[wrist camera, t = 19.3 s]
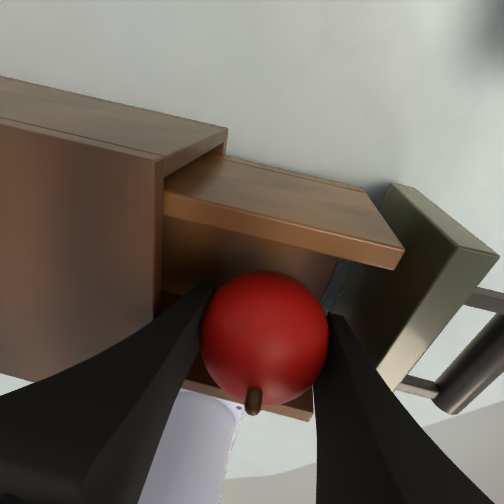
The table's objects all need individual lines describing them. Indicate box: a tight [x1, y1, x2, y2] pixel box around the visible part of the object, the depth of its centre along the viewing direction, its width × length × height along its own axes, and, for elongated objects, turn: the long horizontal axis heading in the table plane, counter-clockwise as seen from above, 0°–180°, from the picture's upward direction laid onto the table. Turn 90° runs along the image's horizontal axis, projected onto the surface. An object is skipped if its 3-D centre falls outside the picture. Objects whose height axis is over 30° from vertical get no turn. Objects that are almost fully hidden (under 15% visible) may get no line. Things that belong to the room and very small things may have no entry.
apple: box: [199, 270, 329, 416], centre depth 10 cm, size 5×5×6 cm
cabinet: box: [0, 76, 228, 382], centre depth 13 cm, size 14×12×8 cm
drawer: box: [161, 152, 504, 422], centre depth 13 cm, size 18×10×6 cm, turn 79°
